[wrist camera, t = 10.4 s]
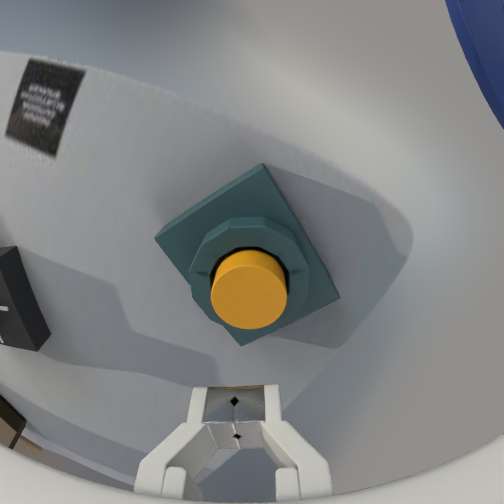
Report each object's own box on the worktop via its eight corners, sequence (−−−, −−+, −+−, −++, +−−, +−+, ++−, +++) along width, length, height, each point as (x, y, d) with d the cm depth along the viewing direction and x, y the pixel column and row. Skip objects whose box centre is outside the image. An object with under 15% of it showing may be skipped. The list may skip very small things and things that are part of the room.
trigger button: (296, 290, 17) (300, 309, 16) (240, 319, 18) (238, 340, 16) (261, 236, 16) (261, 250, 14) (202, 270, 17) (195, 288, 15)
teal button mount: (333, 282, 21) (347, 313, 18) (242, 328, 23) (239, 363, 19) (262, 162, 18) (263, 170, 14) (163, 226, 20) (143, 249, 16)
